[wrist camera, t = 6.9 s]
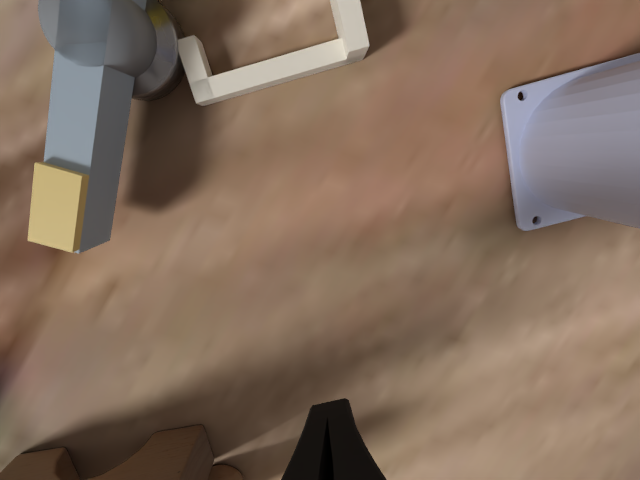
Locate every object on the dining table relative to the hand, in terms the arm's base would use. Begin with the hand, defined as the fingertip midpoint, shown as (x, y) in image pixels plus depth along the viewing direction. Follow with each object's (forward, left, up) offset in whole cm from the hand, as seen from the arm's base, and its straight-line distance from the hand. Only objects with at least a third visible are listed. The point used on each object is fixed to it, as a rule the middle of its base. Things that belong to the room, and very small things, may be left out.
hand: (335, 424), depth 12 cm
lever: (+6, -17, -8) cm, 19 cm away
